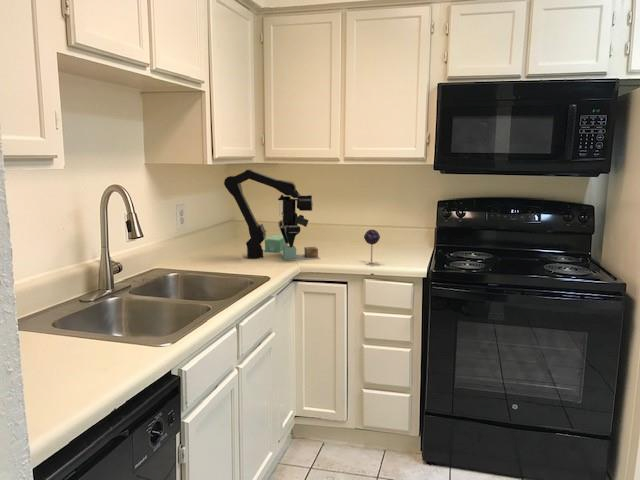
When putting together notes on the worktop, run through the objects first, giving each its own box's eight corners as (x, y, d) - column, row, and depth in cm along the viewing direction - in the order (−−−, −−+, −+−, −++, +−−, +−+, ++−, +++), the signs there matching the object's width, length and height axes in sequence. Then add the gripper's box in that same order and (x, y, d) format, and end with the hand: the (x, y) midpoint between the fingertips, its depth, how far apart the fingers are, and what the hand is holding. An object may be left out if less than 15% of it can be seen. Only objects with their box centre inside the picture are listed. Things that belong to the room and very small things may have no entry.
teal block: (285, 259, 236) (285, 248, 235) (282, 257, 240) (282, 246, 240) (296, 258, 237) (296, 247, 236) (293, 256, 242) (293, 245, 241)
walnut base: (307, 258, 238) (307, 249, 238) (304, 255, 243) (304, 247, 242) (317, 257, 240) (317, 248, 239) (315, 255, 244) (315, 246, 244)
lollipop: (381, 263, 233) (382, 229, 231) (375, 266, 228) (376, 231, 225) (367, 261, 237) (368, 227, 234) (360, 264, 231) (361, 229, 228)
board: (285, 263, 232) (285, 260, 232) (280, 257, 244) (280, 255, 244) (321, 261, 237) (321, 259, 236) (314, 255, 248) (314, 253, 248)
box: (264, 254, 252) (264, 238, 251) (273, 249, 265) (273, 234, 264) (279, 255, 250) (279, 239, 249) (287, 250, 263) (287, 235, 262)
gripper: (312, 212, 228) (311, 248, 231) (302, 207, 246) (301, 241, 249) (286, 213, 225) (286, 249, 228) (278, 208, 243) (278, 241, 246)
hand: (289, 245), depth 238 cm, fingers open, 9 cm apart
